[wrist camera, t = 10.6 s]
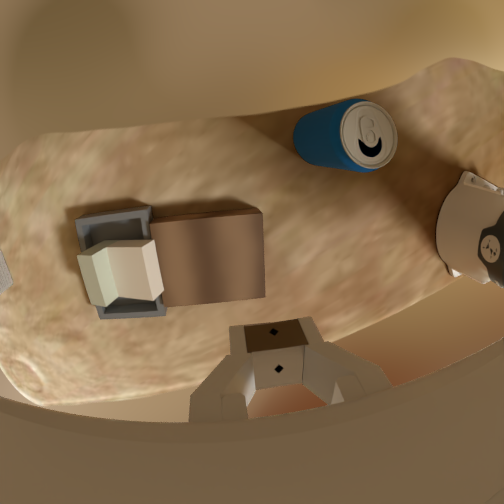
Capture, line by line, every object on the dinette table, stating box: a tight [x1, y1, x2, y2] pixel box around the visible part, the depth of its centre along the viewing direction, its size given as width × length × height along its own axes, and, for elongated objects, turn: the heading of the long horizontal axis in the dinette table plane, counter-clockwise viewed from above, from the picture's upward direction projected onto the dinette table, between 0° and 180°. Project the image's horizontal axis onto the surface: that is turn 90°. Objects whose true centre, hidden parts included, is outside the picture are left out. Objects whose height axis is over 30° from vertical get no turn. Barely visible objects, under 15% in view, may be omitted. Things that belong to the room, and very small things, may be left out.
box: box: [75, 205, 167, 319], centre depth 31 cm, size 9×13×2 cm
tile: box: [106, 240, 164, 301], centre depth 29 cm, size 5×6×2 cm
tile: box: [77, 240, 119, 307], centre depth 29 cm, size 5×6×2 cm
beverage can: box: [293, 99, 398, 172], centre depth 25 cm, size 6×6×12 cm
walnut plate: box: [149, 208, 265, 307], centre depth 32 cm, size 12×10×3 cm
